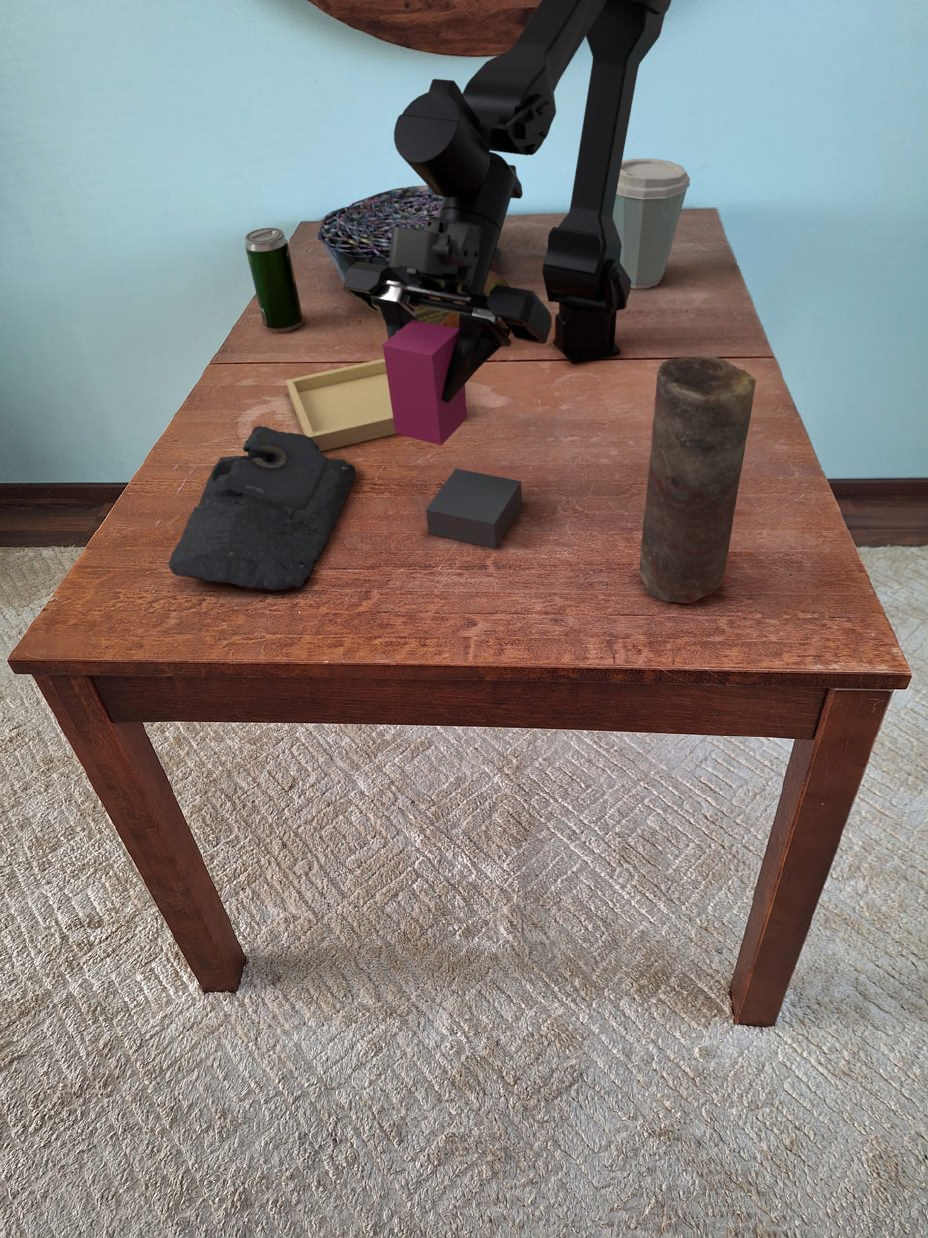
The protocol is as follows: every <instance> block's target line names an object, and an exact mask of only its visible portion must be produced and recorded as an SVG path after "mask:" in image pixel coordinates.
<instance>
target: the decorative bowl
mask: <svg viewBox="0 0 928 1238" xmlns="http://www.w3.org/2000/svg"><path fill="white" fill-rule="evenodd" d="M443 198H444V197H442V196H440V195H437V194H436V193H435V192H434V191H433V190H432V189H431V188H430V187H429V186H428V185H427V184H423V185H413V186H405V187H398V188H393V189H389V190H385V191H382V192H379V193H376V194H373V195H370V196H368V197H365V198H363V199H360V200H357V201H355V202H352V203H351V204H350V205H349V206H344V207H341V208H337V209H335V210H332V211H330V212H328V214H326V215H324V217H322V218H321V219H320V225H321V226H320V228H318V229H319V230H318V231H317V239H318V241H320V242H321V243H322V245H323V247H324V248H325V250H326V252H327V254H328V256H329V258H330V259H331V261H332V263H333V265H334V267H335V269H336V271H337V273H338V274H339V277H340V278H341V280H342V282H343V283H344V282H345V278H346V275H347V271H348V270H349V268H350V267H351V266H352V265H354V264H355V263H356V262H358V261H359V262H365V263H371V264H377V265H383V266H388V265H389V255H390V245H391V235H392V227H401V228H407V229H414V230H421V231H424V228H425V224H426V222H427V221H428V220H429V217H434V218H438V215H439V211H440V208H441V204H442V201H443ZM391 269H392V270H393V271H394V272H396V273H397V274H398V275H399V276H400V277H401V278H402V279H403V280H404V281H406V282H407V283H413V284H418V283H419V280H418V279H416V278H412V277H411V276H410V275H409V274H408V273H407V269H408V268H406V267H401V268H400V269H396V268H391Z"/></svg>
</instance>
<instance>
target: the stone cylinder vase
mask: <svg viewBox="0 0 928 1238" xmlns="http://www.w3.org/2000/svg"><path fill="white" fill-rule="evenodd" d="M756 384H757V381H756V379H755V378H754V377H753V375H751V374H750V372H747V371H746V369H741V368H738V366H736V365H735V364H732V363H730V362H728V361H727V360H726V359H723V358H719V357H718V356H712V355H708V356H707V355H705V356H704V355H699V356H694V355H693V356H683V357H679V358H670V359H667V360H665V361H663V362H662V363H661V364H660V365H659V367H658V370H657V374H656V385H655V397H654V409H653V420H652V431H651V443H650V444H651V445H650V453H649V462H648V463H649V465H648V466H649V467H648V475H647V484H646V495H645V504H644V513H643V523H642V534H641V543H640V557H639V574H640V577H641V579H642V581H643V583H644V585H645V587H646V589H647V590H648V593H649V594H650V595H651V596H653V597H654V598H656V599H658V600H661V601H663V602H669V603H670V602H671V603H680V604H681V603H682V604H691V603H695V602H696V601H698V600H700V599H701V598H705V597H707V596H708V595H711V594H713V593H715V592H716V591H718V589H719V588H720V586H722V585H723V581H724V578H725V574H726V568H727V562H728V557H729V550H730V544H731V539H732V538H731V537H732V531H733V525H734V518H735V510H736V504H737V499H738V492H739V486H740V479H741V474H742V470H743V463H744V457H745V453H746V452H745V451H746V445H747V438H748V433H749V430H750V429H749V428H750V423H751V417H752V409H753V403H754V395H755V390H756Z"/></svg>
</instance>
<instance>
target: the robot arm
mask: <svg viewBox="0 0 928 1238" xmlns="http://www.w3.org/2000/svg"><path fill="white" fill-rule="evenodd" d="M671 4H672V0H540V2H539V4H538V5H537V7H536V8H535V10H534V12H533V13H532V15H531V16H530V18H529V20H528V21H527V22H526V25H525V26H524V28H523V30H522V31H521V32H520V34H519V36H518V37H517V39H516V41H515V42H514V44H513V45H512V46H511V47H510V48H509V49H508V50H506V51H504V52H503V53H501V54H498V55H497V56H495V57H492V58H490V59H489V60H487V61H485V62H484V63H483V65H482V66H481V67H480V68H479V69H478V70H477V71H476V73H474V75H473V76H472V77H471V78H470V79H469V80H468V82H467V83H466V84H465V87H464V89H463V91H461V90H462V89H461V88H460V87H459V85H458V84H457V83H456V81H455V80H453V79H443V78H433V79H432V80H431V83H430V86H429V88H428V91H427V92H425V93H423V94H421V95H419V96H417V97H416V98H414V99H413V100H412V101H411V102H410V103H409V104H408V105H407V106H406V107H405V109H404V110H403V111H402V114H399V115H398V117H397V119H396V122H395V126H394V130H393V131H394V132H393V142H394V146H395V149H396V151H397V153H398V154H399V156H400V157H401V158H402V159H403V160H404V162H406V163H407V165H409V167H410V168H411V169H412V170H413V171H414V172H415V173H416V174H417V175H418V176H419V177H420V179H421V180H422V181H423V182H424V183H425V185H428V186H429V187H430V188H431V189H432V190H433V191H434V192H435V193H436V194H437V195H440V196H442V197H444V198H443V201H442V204H441V208H440V211H439V215H438V218H434V217H429V220H428V221H427V222H426V224H425V228H424V231H421V230H414V229H407V228H401V227H392V235H391V245H390V255H389V265H388V266H383V265H377V264H371V263H365V262H359V261H358V262H356V263H355V264H354V265H352V266H351V267H350V268H349V270H348V271H347V275H346V278H345V282H343V285H342V289H343V290H344V291H345V292H347V293H348V294H349V295H350V296H352V297H353V298H354V299H356V300H357V301H358V302H360V303H361V304H362V305H363V306H365V307H366V308H367V309H369V310H370V311H374V312H376V313H379V314H381V315H382V317H383V320H384V322H385V327H386V333H387V334H386V335H387V340H389V339H390V338H391V337H392V336H393V335H395V334H396V333H397V332H398V331H399V330H401V329H402V328H403V327H404V326H405V325H407V324H408V323H409V322H410V321H411V320H417V321H419V320H418V319H417V318H416V317H415V316H416V313H417V310H418V307H421V308H426V309H431V310H437V311H442V312H447V313H453V314H458V315H459V338H458V342H457V345H456V348H455V351H454V354H453V357H452V360H451V363H450V366H449V369H448V372H447V375H446V380H445V384H444V389H443V394H442V400H443V401H444V402H447V403H449V402H450V401H451V400H452V399H453V397H454V396H455V395H456V394H457V393H458V392H459V390H460V389H461V388H462V387H463V386H464V384H465V385H466V384H467V382H468V381H469V380H470V379H471V378H472V376H473V375H474V374H475V373H476V372H477V371H478V370H479V368H480V367H482V366H483V365H484V364H485V363H486V362H487V361H488V360H489V359H490V358H491V357H493V355H494V354H495V353H496V352H497V351H499V349H500V348H501V347H504V348H509V347H510V346H511V344H512V340H511V339H510V335H511V333H512V336H513V337H514V338H515V339H516V340H519V341H525V342H528V343H534V344H538V345H539V344H540V345H544V344H547V342H548V339H549V336H550V333H551V329H552V324H553V323H552V322H553V321H552V319H553V317H552V314H551V312H550V310H549V309H548V308H547V306H546V305H545V304H544V303H543V301H542V300H541V299H540V297H539V296H538V295H537V294H536V292H535V291H534V290H530V289H525V288H519V287H514V286H509V287H508V286H502V285H497V286H495V287H494V288H493V289H492V290H491V291H490V294H489V297H488V296H487V295H486V294H485V293H484V292H483V290H484V287H485V284H486V280H487V277H488V274H489V271H491V267H492V264H497V265H498V264H499V263H500V259H501V256H502V251H501V250H500V249H499V248H498V243H499V240H500V236H501V233H502V230H503V227H504V222H505V220H506V216H507V212H508V209H509V205H510V203H511V199H520V200H521V199H522V197H523V193H524V192H523V186H522V183H521V181H520V179H519V177H518V174H517V166H516V165H514V164H509V163H508V162H507V161H506V159H504V157H502V156H501V155H500V154H499V153H506V154H514V155H521V156H533V155H535V154H536V153H537V152H538V151H539V149H541V147H542V146H543V143H544V141H545V140H546V139H547V137H548V135H549V133H550V131H551V130H550V129H551V126H552V123H553V121H554V119H555V117H556V114H557V107H556V99H555V91H556V88H557V86H558V84H559V82H560V80H561V79H562V77H563V75H564V73H565V72H566V71H567V68H568V67H569V65H570V63H571V62H572V60H573V58H574V57H575V55H576V53H577V51H578V50H579V48H580V47H581V45H582V43H583V41H584V40H585V39H586V41H587V44H588V47H589V50H590V53H591V57H592V61H591V69H590V76H589V80H588V81H589V82H588V88H587V94H586V100H585V101H586V102H585V106H584V107H585V108H584V114H583V121H582V128H581V134H580V139H579V140H580V141H579V146H578V154H577V160H576V161H577V162H576V166H575V173H574V179H573V180H574V181H573V185H572V192H571V200H570V207H569V210H568V213H567V215H566V216H564V218H563V219H562V221H561V222H560V224H559V225H558V227H557V226H553V227H552V228H551V230H550V232H549V233H548V237H547V249H546V254H545V257H544V260H543V263H542V277H543V282H544V289H545V292H546V296H547V302H549V303H558V313H556V314H555V315H554V338H553V340H552V343H553V345H554V346H555V347H556V348H557V349H558V350H559V351H560V353H561V354H562V355H563V356H564V357H565V358H566V359H567V360H568V361H569V363H570V364H572V365H579V364H583V363H587V362H591V361H595V360H600V359H605V358H608V357H612V356H617V355H620V354H621V348H620V347H619V346H618V345H617V344H616V331H617V329H616V328H617V327H616V325H617V312H618V311H622V310H625V309H626V308H627V304H628V300H629V296H630V294H631V288H630V287H631V279H630V278H629V276H628V274H627V273H626V271H625V270H624V268H623V266H622V265H621V263H620V256H621V247H622V244H621V240H620V237H619V234H618V232H617V229H616V226H615V223H614V220H613V210H614V204H615V199H616V193H617V187H618V181H619V176H620V170H621V164H622V161H623V159H624V153H625V147H626V141H627V136H628V130H629V123H630V118H631V113H632V107H633V100H634V95H635V91H636V90H635V88H636V84H637V78H638V72H639V68H640V64H641V63H642V61H643V60H644V59H645V57H646V56H647V55H648V54H649V52H650V50H651V49H652V48H653V47H654V45H655V43H656V42H657V41H658V39H659V38H660V36H661V33H662V30H663V29H662V28H663V24H664V20H665V16H666V13H667V12H668V11H669V9H670V6H671ZM496 152H498V154H497V153H496ZM401 267H406V268H408V269H407V273H408V274H409V275H410V276H411V277H412V278H416V279H418V280H419V283H418V284H413V283H407V282H406V281H404V280H403V279H402V278H401V277H400V276H399V275H398V274H397V273H396V272H394V271H393V270H392V269H391V268H396V269H400V268H401ZM430 297H432V298H438V299H439V300H440V301H439V300H434V299H430ZM454 302H455V303H454ZM456 303H460V304H456ZM462 304H465V305H462Z"/></svg>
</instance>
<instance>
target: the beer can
mask: <svg viewBox="0 0 928 1238" xmlns="http://www.w3.org/2000/svg"><path fill="white" fill-rule="evenodd" d="M244 240H245V245H244V248H245V252H246V257H247V261H248V264H249V269H250V273H251V277H252V281H253V286H254V289H255V294H256V299H257V303H258V306H259V311H260V316H261V320H262V324H263V325H264V327H265V328H266V329H267V330H268V331H269V332H271V333H274V334H285V333H291V332H293V331H295V330H297V329H298V328H300V327H301V326H302V324H303V318H304V317H303V311H302V306H301V301H300V296H299V292H298V287H297V282H296V276H295V272H294V271H295V270H294V267H293V262H292V257H291V252H290V248H289V242H288V239H287V238H286V236H285V232H284V230H283V229H281V228H278V227H263V228H258V229H254V230H252V231H250V232H248V233H247V234H246V235H245V236H244Z"/></svg>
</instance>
